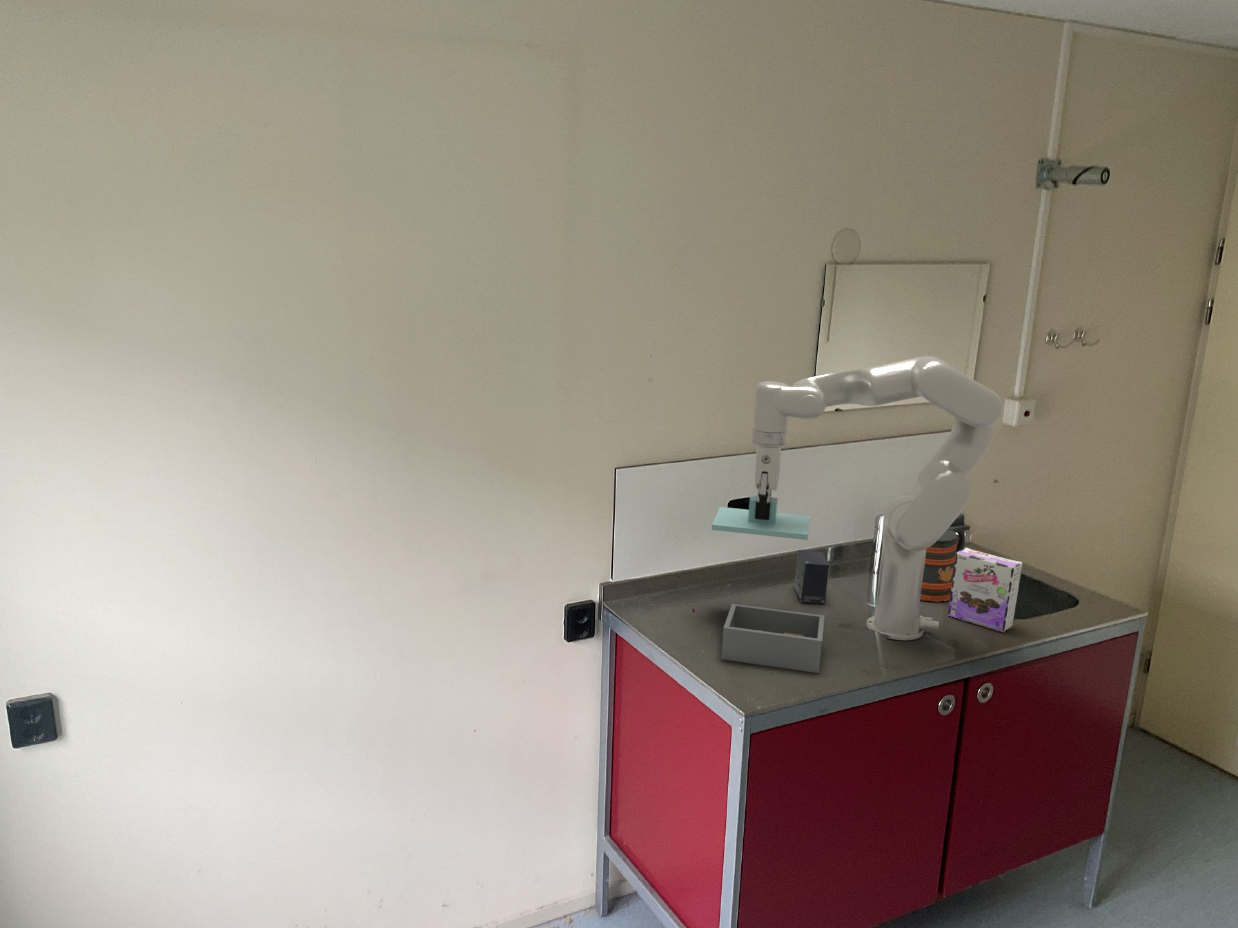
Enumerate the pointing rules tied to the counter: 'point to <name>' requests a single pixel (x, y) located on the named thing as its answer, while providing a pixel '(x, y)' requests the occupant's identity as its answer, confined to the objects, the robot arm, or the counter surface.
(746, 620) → the tub
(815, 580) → the small box
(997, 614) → the candy box
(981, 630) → the counter surface
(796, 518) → the lid
